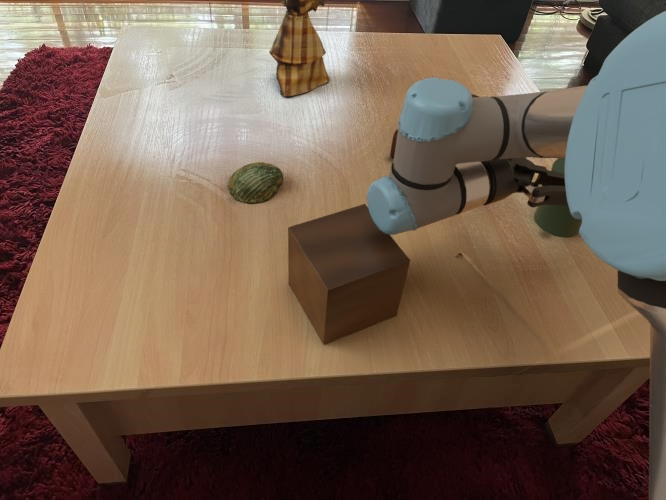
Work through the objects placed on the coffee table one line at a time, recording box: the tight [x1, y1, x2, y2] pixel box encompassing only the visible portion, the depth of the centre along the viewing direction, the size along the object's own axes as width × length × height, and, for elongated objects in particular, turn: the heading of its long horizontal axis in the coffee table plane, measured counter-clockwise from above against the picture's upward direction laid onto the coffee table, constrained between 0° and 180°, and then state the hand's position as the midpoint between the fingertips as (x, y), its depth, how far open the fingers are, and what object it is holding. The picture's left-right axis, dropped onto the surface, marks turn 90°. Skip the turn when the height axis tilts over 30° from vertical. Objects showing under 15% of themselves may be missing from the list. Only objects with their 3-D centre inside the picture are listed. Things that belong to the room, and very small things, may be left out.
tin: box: [534, 205, 582, 238], centre depth 89 cm, size 8×8×10 cm
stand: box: [287, 203, 411, 345], centre depth 74 cm, size 12×12×12 cm
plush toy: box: [268, 0, 331, 98], centre depth 112 cm, size 14×14×25 cm
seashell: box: [227, 161, 284, 204], centre depth 93 cm, size 10×4×10 cm
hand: (586, 145), depth 79 cm, fingers open, 13 cm apart
